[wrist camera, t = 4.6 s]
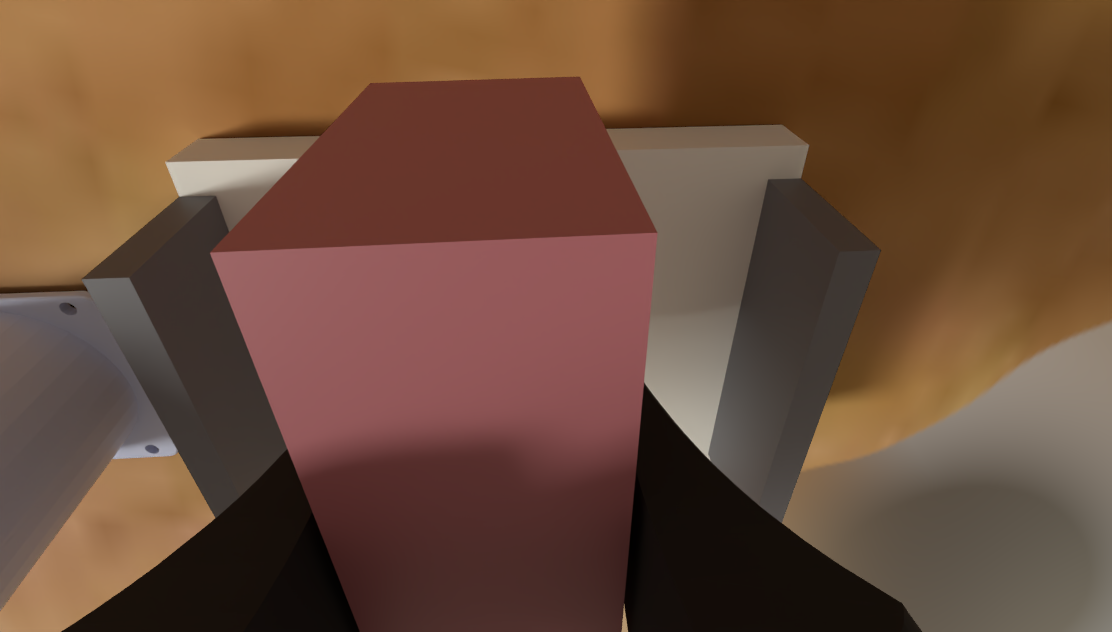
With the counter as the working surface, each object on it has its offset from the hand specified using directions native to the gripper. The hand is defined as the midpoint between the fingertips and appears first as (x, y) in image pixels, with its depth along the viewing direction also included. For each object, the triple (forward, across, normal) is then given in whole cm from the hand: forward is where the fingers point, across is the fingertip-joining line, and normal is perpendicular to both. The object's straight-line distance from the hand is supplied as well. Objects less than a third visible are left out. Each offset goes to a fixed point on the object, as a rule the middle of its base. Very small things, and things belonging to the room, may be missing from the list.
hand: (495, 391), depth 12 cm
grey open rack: (+9, 0, +4) cm, 10 cm away
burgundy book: (+3, 0, -1) cm, 3 cm away
